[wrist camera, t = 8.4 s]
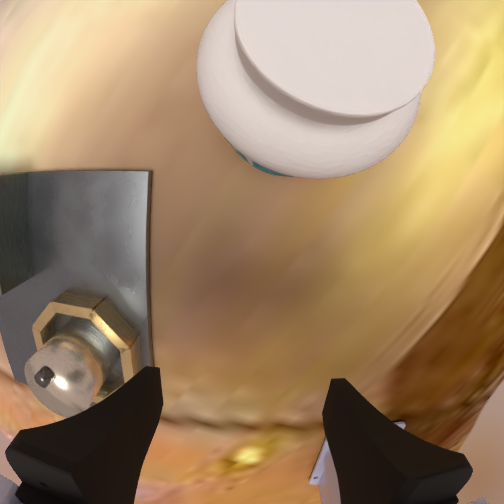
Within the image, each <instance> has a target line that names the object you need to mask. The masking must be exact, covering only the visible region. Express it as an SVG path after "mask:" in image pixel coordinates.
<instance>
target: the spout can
mask: <svg viewBox="0 0 504 504" xmlns="http://www.w3.org/2000/svg"><path fill="white" fill-rule="evenodd" d="M117 360H118V348H117V347H116V346H115V345H114V344H113V343H112V342H111V341H110V340H109V339H108V338H107V337H106V336H105V335H104V334H103V333H102V332H101V331H100V330H99V329H98V328H97V326H96V325H95V324H94V323H93V322H92V321H91V320H90V319H86V318H80V317H74V318H72V319H71V320H69V321H68V322H67V323H66V324H65V325H64V326H63V327H62V328H61V329H60V330H59V331H58V332H57V333H55V334H54V335H53V336H52V337H51V338H50V339H49V340H48V341H47V342H46V343H45V344H44V345H43V346H42V347H41V348H40V349H39V350H38V351H37V352H36V353H35V354H34V355H33V356H32V357H31V358H30V359H29V360H28V361H27V362H26V364H25V369H24V372H25V378H26V381H27V383H28V385H29V387H30V389H31V391H32V392H33V394H34V395H35V396H36V397H37V399H38V400H39V401H40V402H41V403H42V404H43V405H45V406H46V407H47V408H48V409H50V410H51V411H53V412H54V413H56V414H58V415H60V416H63V417H67V418H69V417H71V416H74V415H76V414H78V413H81V412H83V411H85V410H86V409H88V408H89V406H90V404H91V403H92V401H93V399H94V398H95V396H96V395H97V393H98V391H99V390H100V388H101V387H102V385H103V383H104V382H105V380H106V379H107V377H108V375H109V374H110V372H111V371H112V369H113V367H114V366H115V364H116V363H117Z"/></svg>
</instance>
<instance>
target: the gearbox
mask: <svg viewBox="0 0 504 504" xmlns="http://www.w3.org/2000/svg"><path fill="white" fill-rule="evenodd" d="M151 186H152V171H48V172H25V173H8V174H0V332H1V336H2V340H3V343H4V347H5V350H6V353H7V357H8V360H9V363H10V366H11V369H12V372H13V375H14V378H15V380H17V381H19V382H22V383H24V384H27V385H28V383H27V381H26V378H25V372H24V369H25V364H26V362H27V361H28V360H29V359H30V358H31V357H32V356H33V355H34V354H35V353H36V352H37V351H38V350H39V349H40V348H41V347H42V346H43V345H44V344H45V343H46V342H47V341H48V340H49V339H50V338H51V337H52V336H53V335H54V334H55V333H57V332H58V331H59V330H60V329H61V328H62V327H63V326H64V325H65V324H66V323H67V322H68V321H69V320H71V319H72V318H74V317H80V318H86V319H90V320H91V321H92V322H93V323H94V324H95V325H96V326H97V328H98V329H99V330H100V331H101V332H102V333H103V334H104V335H105V336H106V337H107V338H108V339H109V340H110V341H111V342H112V343H113V344H114V345H115V346H116V347H117V348H118V360H117V363H116V364H115V366H114V367H113V369H112V371H111V372H110V374H109V375H108V377H107V379H106V380H105V382H104V383H103V385H102V387H101V388H100V390H99V391H98V393H97V395H96V396H95V398H94V399H93V401H92V403H91V404H90V405H91V406H94V405H95V404H97V403H99V402H100V401H102V400H103V399H105V398H106V397H108V396H109V395H110V394H112V393H113V392H115V391H116V390H117V389H118V388H120V387H121V386H122V385H123V384H125V383H126V382H127V381H128V380H130V379H131V378H132V377H133V376H134V375H135V374H137V373H138V372H139V371H140V370H141V369H143V368H144V367H145V366H151V367H154V360H153V347H152V331H151V309H150V207H151Z"/></svg>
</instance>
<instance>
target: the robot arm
mask: <svg viewBox="0 0 504 504" xmlns="http://www.w3.org/2000/svg"><path fill="white" fill-rule="evenodd" d="M162 407H163V396H162V387H161V377H160V368H158V367H151V366H145V367H144V368H143V369H141V370H140V371H139V372H138V373H137V374H135V375H134V376H133V377H132V378H131V379H130V380H128V381H127V382H126V383H125V384H123V385H122V386H121V387H120V388H118V389H117V390H116V391H115V392H113V393H112V394H110V395H109V396H108V397H106V398H105V399H103V400H102V401H100V402H99V403H97V404H95V405H94V406H92V407H90V408H88V409H86V410H85V411H83V412H81V413H78V414H76V415H74V416H71V417H69V418H66V419H64V420H61V421H58V422H55V423H52V424H48V425H44V426H40V427H35V428H30V429H24V430H20V431H19V433H18V434H17V435H16V437H15V438H14V439H13V441H12V442H11V444H10V445H9V446H8V448H7V449H6V451H5V454H6V458H7V460H8V462H9V464H10V465H11V467H12V468H13V470H14V471H15V472H16V474H17V475H18V477H19V478H20V479H21V481H22V483H21V485H20V486H17V485H16V484H15V483H14V482H12V481H11V480H9V479H7V478H5V477H4V476H2V475H0V504H134V499H135V494H136V489H137V485H138V480H139V476H140V472H141V468H142V465H143V462H144V459H145V456H146V454H147V451H148V449H149V446H150V444H151V441H152V438H153V436H154V433H155V431H156V428H157V426H158V423H159V419H160V415H161V411H162ZM322 416H323V424H324V430H325V435H326V439H325V441H324V444H323V447H322V449H321V452H320V454H319V457H318V460H317V462H316V464H315V467H314V469H313V472H312V474H311V477H310V479H309V484H318V486H319V492H320V497H321V503H322V504H457V503H458V501H459V500H458V498H457V496H456V494H457V493H458V492H459V491H460V490H461V489H462V488H463V486H464V485H465V484H466V483H467V482H468V480H469V479H470V477H471V475H472V472H473V469H472V467H471V465H470V463H469V462H468V460H467V458H466V457H465V455H464V454H462V453H458V452H454V451H451V450H447V449H444V448H441V447H438V446H436V445H433V444H431V443H428V442H426V441H424V440H422V439H420V438H418V437H416V436H414V435H412V434H411V433H409V432H407V431H405V430H404V428H405V426H406V424H405V422H395V423H393V422H392V421H391V420H389V419H388V418H387V417H386V416H384V415H383V414H382V413H381V412H379V411H378V410H377V409H376V408H375V407H374V406H373V405H372V404H370V403H369V402H368V401H367V400H366V399H365V398H364V397H363V396H362V395H361V394H360V393H359V392H358V391H357V390H356V389H355V388H354V387H353V386H352V385H351V384H350V383H349V382H348V381H347V380H346V379H345V378H341V379H331V382H330V386H329V390H328V394H327V397H326V401H325V405H324V408H323V412H322ZM468 504H488V502H487V500H486V498H485V497H481V498H480V499H477V500H475V501H473V502H470V503H468Z"/></svg>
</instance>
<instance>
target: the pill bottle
mask: <svg viewBox="0 0 504 504" xmlns="http://www.w3.org/2000/svg"><path fill="white" fill-rule="evenodd" d="M434 60H435V45H434V38H433V34H432V30H431V27H430V24H429V22H428V20H427V17H426V15H425V13H424V12H423V10H422V8H421V7H420V5H419V4H418V2H417V1H416V0H228V1H226V2H225V3H224V4H223V5H222V6H221V7H220V8H219V10H218V11H217V12H216V13H215V14H214V16H213V17H212V18H211V20H210V22H209V23H208V25H207V27H206V29H205V31H204V33H203V36H202V39H201V41H200V45H199V49H198V55H197V81H198V87H199V91H200V95H201V98H202V101H203V103H204V106H205V108H206V110H207V112H208V114H209V116H210V118H211V120H212V121H213V123H214V124H215V126H216V127H217V128H218V130H219V131H220V132H221V134H222V135H223V136H224V137H225V139H226V140H227V141H228V142H229V143H230V144H231V145H232V147H233V148H234V149H235V151H236V152H237V153H238V154H239V155H240V156H241V157H242V158H243V159H244V160H245V161H247V162H248V163H249V164H251V165H252V166H254V167H256V168H258V169H260V170H262V171H264V172H266V173H270V174H273V175H279V176H290V177H299V178H314V179H325V178H337V177H342V176H347V175H351V174H354V173H357V172H360V171H363V170H365V169H367V168H370V167H372V166H374V165H375V164H377V163H379V162H380V161H382V160H383V159H385V158H386V157H387V156H388V155H390V154H391V153H392V152H393V151H394V150H395V149H396V148H397V147H398V146H399V145H400V144H401V142H402V141H403V140H404V138H405V137H406V136H407V134H408V133H409V131H410V129H411V127H412V125H413V123H414V121H415V119H416V116H417V112H418V109H419V105H420V99H421V91H422V90H423V89H424V87H425V86H426V84H427V82H428V80H429V78H430V76H431V73H432V70H433V67H434Z"/></svg>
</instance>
